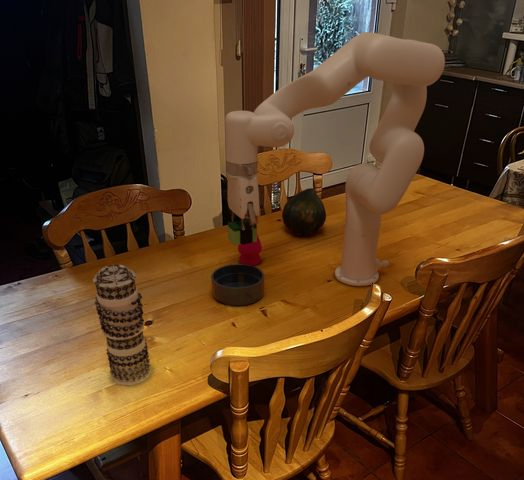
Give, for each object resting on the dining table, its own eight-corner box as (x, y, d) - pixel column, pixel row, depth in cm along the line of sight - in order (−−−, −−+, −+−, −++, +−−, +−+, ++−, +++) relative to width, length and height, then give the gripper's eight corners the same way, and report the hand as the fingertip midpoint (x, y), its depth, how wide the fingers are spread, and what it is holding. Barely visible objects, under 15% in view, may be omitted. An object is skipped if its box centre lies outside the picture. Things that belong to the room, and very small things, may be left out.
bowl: (251, 277, 153) (251, 260, 150) (272, 300, 143) (273, 281, 140) (204, 287, 149) (203, 269, 145) (223, 311, 138) (222, 292, 135)
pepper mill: (259, 267, 159) (258, 202, 147) (235, 265, 160) (233, 200, 148) (263, 257, 164) (264, 193, 153) (241, 255, 166) (239, 191, 154)
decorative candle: (138, 355, 122) (121, 255, 108) (161, 373, 116) (146, 270, 102) (102, 372, 117) (79, 269, 102) (124, 392, 111) (104, 286, 97)
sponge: (249, 235, 140) (249, 218, 138) (256, 241, 137) (256, 224, 134) (228, 238, 138) (227, 222, 135) (234, 245, 135) (234, 228, 132)
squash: (272, 222, 173) (304, 189, 166) (276, 208, 186) (306, 176, 179) (303, 251, 177) (336, 220, 170) (305, 235, 190) (336, 205, 183)
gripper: (271, 176, 122) (269, 250, 132) (242, 157, 135) (242, 226, 145) (241, 180, 119) (241, 255, 130) (214, 160, 132) (217, 230, 142)
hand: (242, 239), depth 137 cm, fingers closed on sponge, 4 cm apart
